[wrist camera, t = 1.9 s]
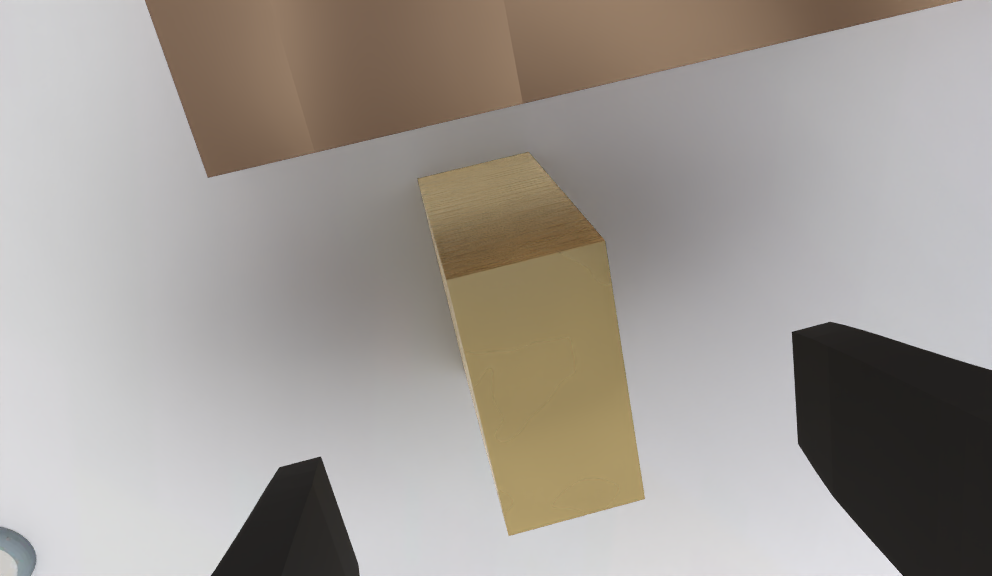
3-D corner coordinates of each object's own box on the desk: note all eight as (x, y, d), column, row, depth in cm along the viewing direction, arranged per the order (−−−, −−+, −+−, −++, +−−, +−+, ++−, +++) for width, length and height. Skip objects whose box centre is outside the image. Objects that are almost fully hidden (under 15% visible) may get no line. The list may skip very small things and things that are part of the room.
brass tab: (528, 151, 18) (605, 240, 13) (564, 348, 20) (645, 499, 15) (417, 178, 18) (446, 280, 12) (465, 373, 20) (508, 535, 14)
